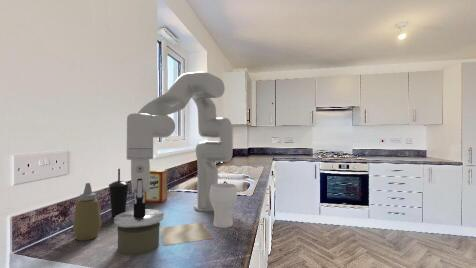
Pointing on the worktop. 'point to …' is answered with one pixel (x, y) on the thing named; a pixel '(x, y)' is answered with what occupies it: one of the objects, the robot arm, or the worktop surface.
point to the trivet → (184, 233)
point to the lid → (138, 219)
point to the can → (138, 239)
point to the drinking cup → (118, 196)
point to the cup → (223, 203)
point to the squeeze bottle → (87, 215)
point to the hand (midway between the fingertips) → (139, 214)
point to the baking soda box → (157, 186)
